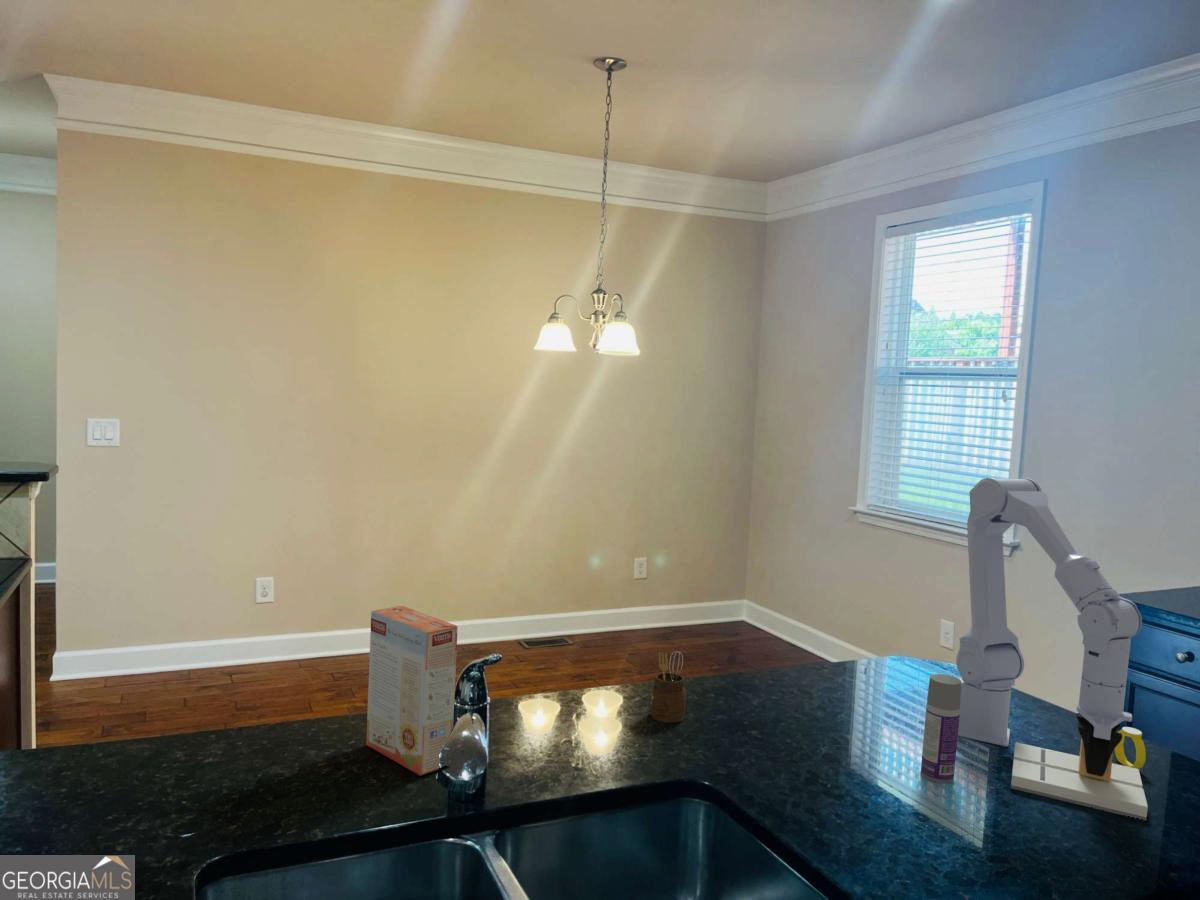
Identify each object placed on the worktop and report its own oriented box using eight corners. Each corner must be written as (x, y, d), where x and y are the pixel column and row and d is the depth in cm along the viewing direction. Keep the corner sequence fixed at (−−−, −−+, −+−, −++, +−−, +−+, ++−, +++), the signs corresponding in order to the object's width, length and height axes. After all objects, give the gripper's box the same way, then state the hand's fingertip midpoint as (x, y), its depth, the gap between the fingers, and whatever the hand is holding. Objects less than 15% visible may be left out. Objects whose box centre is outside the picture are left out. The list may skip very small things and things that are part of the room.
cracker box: (454, 766, 124) (460, 624, 123) (419, 778, 120) (425, 631, 118) (398, 735, 134) (403, 603, 132) (364, 745, 129) (369, 609, 128)
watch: (1147, 776, 135) (1153, 740, 134) (1130, 775, 134) (1135, 739, 134) (1124, 756, 140) (1129, 722, 140) (1107, 755, 140) (1112, 721, 139)
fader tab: (1077, 784, 128) (1082, 741, 127) (1077, 777, 130) (1081, 734, 130) (1109, 792, 126) (1113, 748, 125) (1107, 784, 128) (1112, 741, 128)
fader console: (1010, 788, 127) (1012, 774, 127) (1014, 754, 139) (1015, 741, 139) (1146, 820, 119) (1147, 806, 119) (1137, 781, 131) (1138, 768, 131)
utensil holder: (690, 716, 148) (695, 648, 147) (673, 727, 143) (678, 657, 142) (660, 707, 151) (664, 640, 150) (642, 718, 146) (646, 649, 145)
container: (952, 772, 131) (961, 676, 130) (954, 785, 127) (963, 686, 125) (920, 766, 133) (928, 671, 131) (920, 779, 128) (929, 681, 127)
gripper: (1139, 701, 119) (1129, 796, 120) (1130, 672, 131) (1121, 758, 132) (1081, 690, 122) (1072, 782, 123) (1078, 663, 135) (1069, 747, 136)
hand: (1094, 769), depth 128 cm, fingers closed on fader tab, 3 cm apart
